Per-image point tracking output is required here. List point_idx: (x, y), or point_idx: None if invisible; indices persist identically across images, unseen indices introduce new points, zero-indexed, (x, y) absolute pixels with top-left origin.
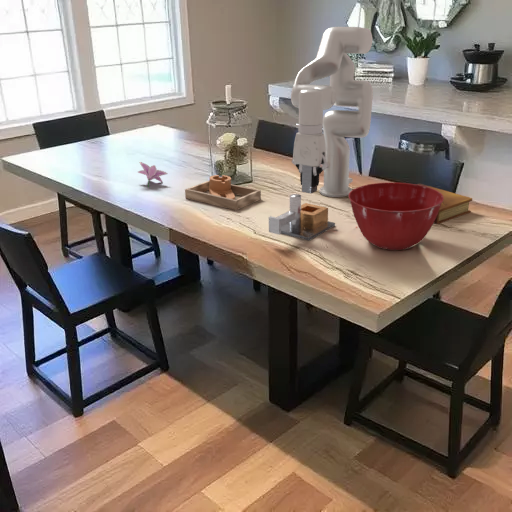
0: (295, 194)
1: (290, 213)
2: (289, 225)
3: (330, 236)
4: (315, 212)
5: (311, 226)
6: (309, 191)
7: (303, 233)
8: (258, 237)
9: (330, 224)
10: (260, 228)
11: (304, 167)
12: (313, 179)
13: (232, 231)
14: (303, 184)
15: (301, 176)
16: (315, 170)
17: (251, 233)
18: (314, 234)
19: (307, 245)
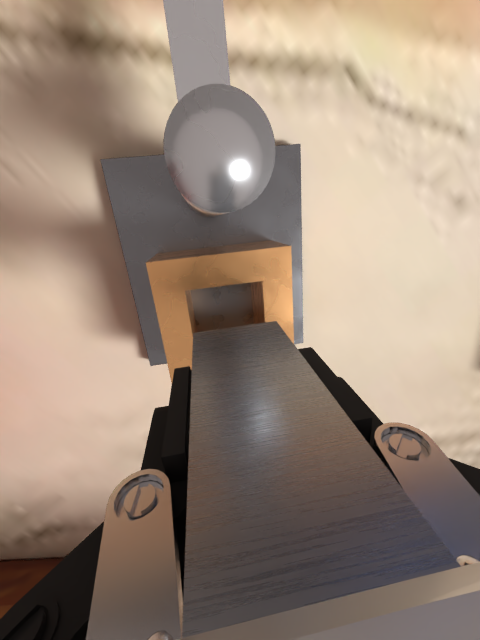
0: (245, 188)
1: (189, 84)
2: (268, 227)
3: (80, 266)
4: (172, 304)
5: (165, 253)
6: (208, 336)
7: (158, 187)
8: (307, 30)
9: (150, 343)
10: (361, 141)
11: (366, 527)
12: (168, 418)
13: (449, 13)
14: (279, 350)
15: (340, 393)
16: (113, 565)
17: (362, 55)
18: (113, 211)
19: (64, 104)
